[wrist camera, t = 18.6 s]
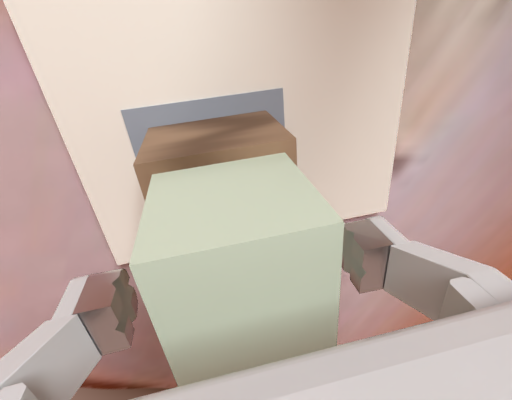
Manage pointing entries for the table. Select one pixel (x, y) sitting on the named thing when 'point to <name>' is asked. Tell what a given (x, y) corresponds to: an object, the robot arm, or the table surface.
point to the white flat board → (221, 86)
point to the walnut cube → (211, 144)
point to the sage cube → (238, 266)
